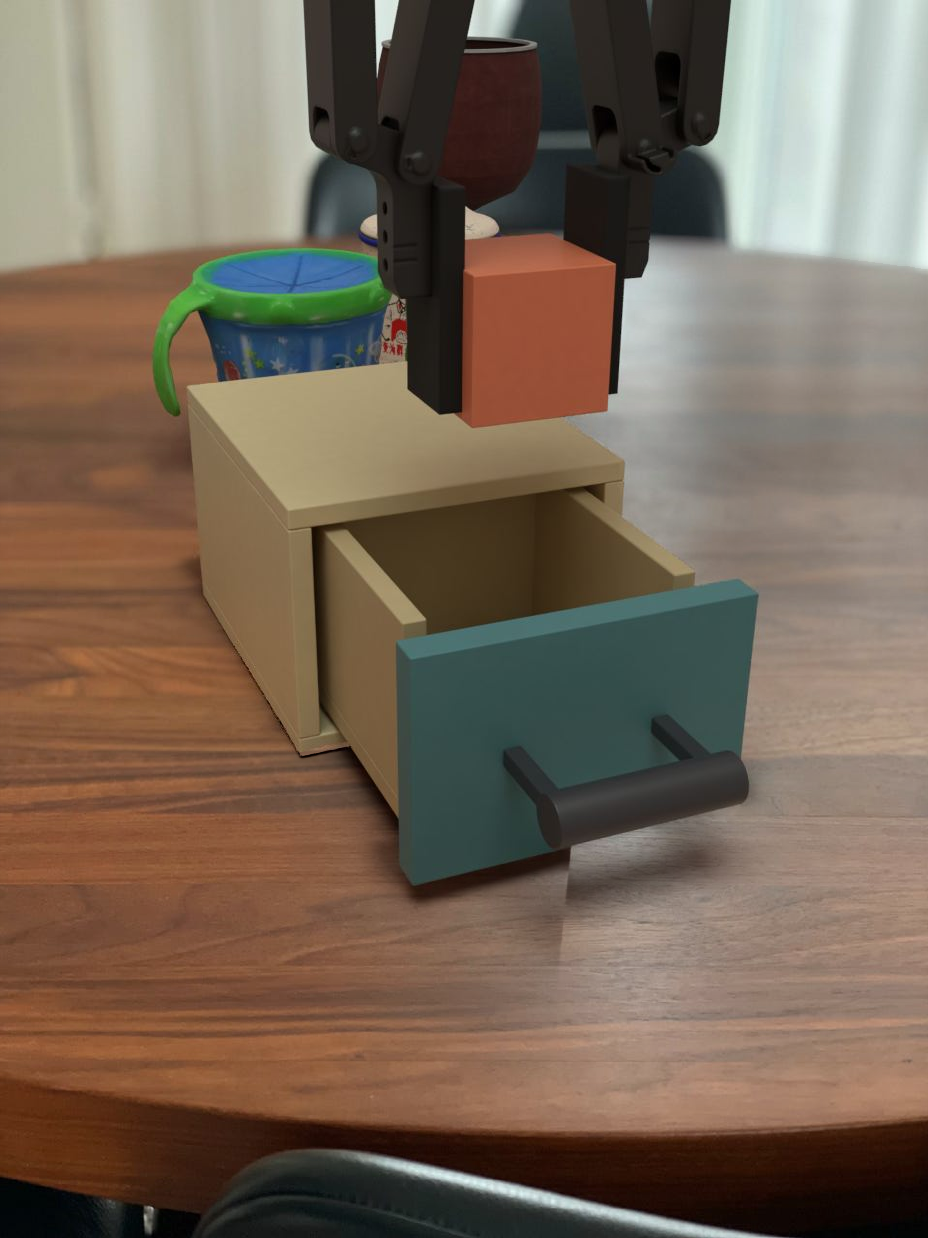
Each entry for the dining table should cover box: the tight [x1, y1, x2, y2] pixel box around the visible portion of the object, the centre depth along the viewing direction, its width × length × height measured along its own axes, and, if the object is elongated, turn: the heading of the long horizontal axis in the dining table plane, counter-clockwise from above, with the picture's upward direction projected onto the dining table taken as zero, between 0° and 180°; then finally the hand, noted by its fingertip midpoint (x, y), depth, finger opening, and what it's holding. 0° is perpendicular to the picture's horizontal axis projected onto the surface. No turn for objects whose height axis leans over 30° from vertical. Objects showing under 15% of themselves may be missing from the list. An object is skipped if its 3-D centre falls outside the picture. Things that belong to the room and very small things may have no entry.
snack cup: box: [152, 247, 407, 418], centre depth 78 cm, size 16×10×10 cm
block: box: [454, 232, 616, 428], centre depth 44 cm, size 4×4×4 cm
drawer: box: [310, 487, 759, 887], centre depth 48 cm, size 18×11×8 cm, turn 23°
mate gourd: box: [377, 35, 543, 237], centre depth 121 cm, size 16×14×20 cm
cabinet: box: [186, 361, 626, 752], centre depth 58 cm, size 15×13×10 cm
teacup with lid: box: [358, 206, 502, 364], centre depth 93 cm, size 12×9×12 cm
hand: (512, 389), depth 45 cm, fingers closed on block, 4 cm apart
